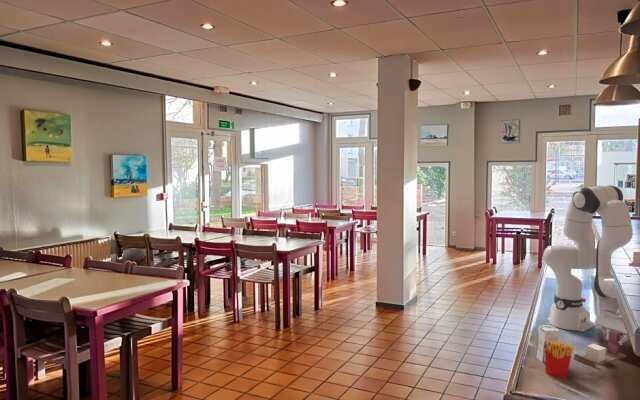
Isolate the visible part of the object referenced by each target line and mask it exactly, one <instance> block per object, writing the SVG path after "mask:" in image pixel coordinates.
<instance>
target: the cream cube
mask: <svg viewBox="0 0 640 400" xmlns="http://www.w3.org/2000/svg"><path fill="white" fill-rule="evenodd" d="M606 348H607V347H604V346H601V345H598V344H596V343H592V344H587V345H586V351H585V355H586V358H588V359H591V360H593V361H596V362H601V361H604V360H605V354H606Z"/></svg>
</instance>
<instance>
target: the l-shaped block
mask: <svg viewBox="0 0 640 400" xmlns="http://www.w3.org/2000/svg"><path fill="white" fill-rule="evenodd" d="M620 334H621V333H620V332H617V331H614V330H612V331H609V340H608V341H607V347H605V348H606V354H605V360H604V361H601V362H596V361H593V360H591V359H588V358H586V354H585V355H580V354H577V353H574V357H573V360H575V361H577V362H581V363H583V364H586V365H587V366H590V367H593V368H595V367H599V366H600V365H603V364H605V363H608V362H611V361H614V360H619V361H621V360H623V359H626V358H627V354H625V353H622V352H619V351H620V345H619V344H617V341H618V339H621V335H620ZM625 357H626V358H625ZM620 359H621V360H620Z"/></svg>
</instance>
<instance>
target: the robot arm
mask: <svg viewBox="0 0 640 400" xmlns="http://www.w3.org/2000/svg"><path fill="white" fill-rule="evenodd" d="M595 213H597V214H598V215H599V216H600V219H601V230H602V231H601V235H600V239H599V240H598V241H597V244H596V247H595V246H594V245H593V243H592V240H591V228H592V223H593V216H594V214H595ZM563 225H564V226H563V233H564V235H565V237H567V239H569V240H571V241H573V244H572V245H564V244H563V245H560V244H556V245H549V246H547V247H546V248H545V249H544V250H543V254H542V259H543V262H544V264H546V266H548V267H549V268H550V269H551V271H552V272H553V274H554V277H555V294H554V297H553V303H552V304H551V308H550V313H549V316H548V317H547V321H548V322H549V324H550V326H554V327H555V328H557V329H562V330H568V331H577V332H578V331H579V332H586V331H588V330H590V329H591V328H593V327H594V326H596V328H598V329H599V330H603V331H606V337H605V340H606V341H607V342H608V340H609V331H612V330H614V331H617V332H620V333H621V334H620V339H618V341H617V344H619V346H622V345H623V344H624V343H625V342H627V341H629V339H630V338H629V336H628V334H627V331H626V329H625V326H624V322H623V319H622V316H621V312H620V308H619V307H618V308H617V310H616V311H614V310H611V309H609V308H608V309H607V308H606V309H602V310H601V312H600V313H599V315H598V316H597V317H596V318H595V319H594V321H592V320H590V319H591V313H590V311H589V310H587V308H586V307H584V304H583V303H586V302H587V298H586V297H582V293H583V283H582V281H581V279H580V278H578V277H577V276H575V275H573V273H572V270H585V271H586V270H593V269H595V277H594V281H593V288H594V291H595V292H596V293H597V294H598V296H599V297H600V298H603V299H606V298H607V299H612V298H615V299H617V298H616V295H615V291H614V274H613V275H612V273H611V270H612V269H611V268H612V267H611V266H612V255H613V253H614V252H615V251H617V250H618V249H620V248H623V247H625V246H626V245H627V244H629V243H630V242H631V240H632V239H633V235H634V233H633V224H632V218H631V213H630V210H629V208H628V205H627V203H626V202H624V194H623V191H622V190H621V189H620V188H619V187H618V186H615V185H595V186H589V187H582V188H578V189H577V190H575V191H574V193H573V194H572V198H571V199H570V200H569V203H568V207H567V210H566V214H565V218H564V224H563ZM625 276H626V277H631V276H630V275H625ZM621 336H622V338H621Z"/></svg>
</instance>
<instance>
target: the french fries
mask: <svg viewBox="0 0 640 400" xmlns="http://www.w3.org/2000/svg"><path fill="white" fill-rule="evenodd" d="M546 347H547V349H546V350H545V362H546V363H545V373H546V374H547V375H549V376H553V377H557V378H563V379H565V378H566V379H567V377H568V371H569V367H570V363H571V359H572V355H573V351H574V347H573V346H571V345H569V344H567V343H565V342H562V341H560V342H558V343H557V342H555V343H554V342H553V341H552V342H550V345H548V342H546Z"/></svg>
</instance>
